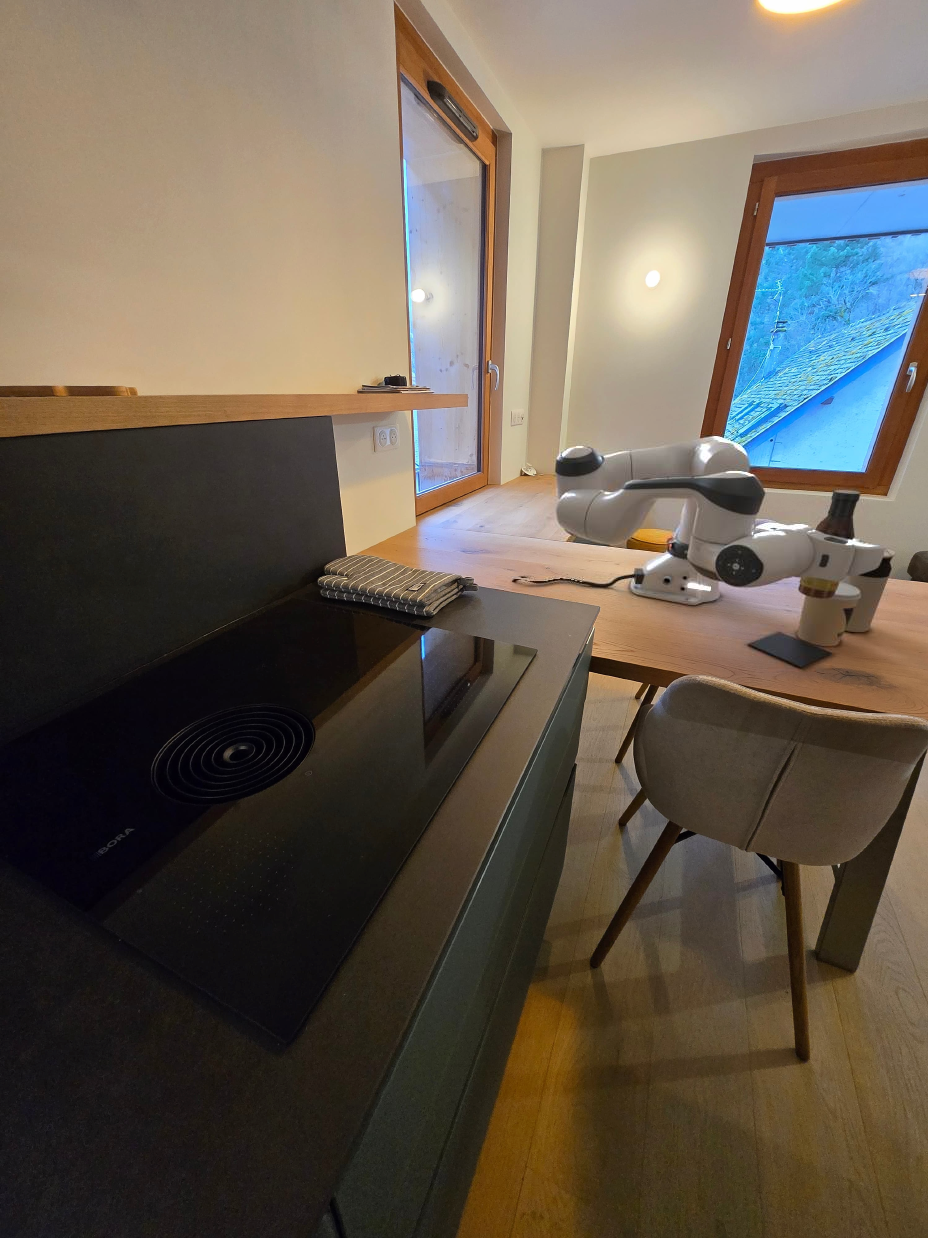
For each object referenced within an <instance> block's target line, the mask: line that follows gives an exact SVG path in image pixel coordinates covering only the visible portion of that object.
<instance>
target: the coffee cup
mask: <svg viewBox="0 0 928 1238" xmlns="http://www.w3.org/2000/svg"><path fill="white" fill-rule="evenodd" d="M860 597H861V594H860V590H859V589H858V588H856V587H854V586H852V585H849V584H846V583H842V582H839V586H838V588H837V590H836V592H835V594H834V596H833V597H831V598H822V599H820V598H815V597H809V596H806V595H804V600H803V605H802V609H801V614H800V618H799V623H798V627H797V637H798V638H799V639H800V640H801V641H803V642H806V643H808V644H811V645H814V646H820V647H835V646H837V645H839V643H840V641H841V639H842V638H843V635H844V633H845V632H846V631H845V629H846V626H847V624H848V622H849V620H850V618H851V616H852V613H853V611H854V609H855V607H856V604H857V602H858V600H859V599H860Z"/></svg>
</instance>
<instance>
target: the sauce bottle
mask: <svg viewBox="0 0 928 1238" xmlns="http://www.w3.org/2000/svg"><path fill="white" fill-rule="evenodd" d="M861 494H862V493H861V491H857V490H849V489H836V490H833V492H832V495H831V503H830V506H829V509H828V511H827V516H826V517H824V518H823V519H822V520H821V521H820V522H819V523H818V524H817V525H816V528H815V530H816V531H819V532H822V533H824V534H827V535H832V536H836V537H841V538H845V539H853V538H854V539H855V537H856V536H855V528H854V515H855V511H856V510H855V509H856V506H857V503H858V501H859V500H860V498H861ZM839 582H840V581H838V582H836V581H829V580H823V579H816V578H799V585H798V589H797V590H798V592H799V593H800V594H802V595H803V596H805V595H806V596H809V597H815V598H820V599H822V598H831V597H833V596H834V594H835V592H836V590H837V588H838V586H839Z"/></svg>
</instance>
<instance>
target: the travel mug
mask: <svg viewBox="0 0 928 1238" xmlns="http://www.w3.org/2000/svg"><path fill="white" fill-rule="evenodd" d="M883 548H884V549H885V552H884V555H883V558H882V561H881V563H880V565H879V567H878V568H876V569H874V570H872V571H869V572H866V573H863V574H860V575H854V576H846V577H845V579H844V580H843V581H840V582H842V583H846V584H849V585H852V586H854V587H856V588H858V589H859V590H860V594H861V597H860V599H859V600H858V602H857V604H856V607H855V609H854V611H853V613H852V616H851V618H850V620H849V622H848V624H847V626H846V629H845V631H844V632H849V633H864V632H867V631H869V630H870V627H871V625H872V622H873V619H874V617H875V614H876V611H877V609H878V606H879V604H880V601H881V598H882V596H883V594H884V590H885V588H886V585H887V583H888V580H889V577H890V575H891V573H892V565H891V561H892V560H893V558H894V557H895V556H896V555H897V554H896V552H895V551H893V550H891V549H888V548H885V547H883Z"/></svg>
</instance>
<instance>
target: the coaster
mask: <svg viewBox="0 0 928 1238" xmlns="http://www.w3.org/2000/svg"><path fill="white" fill-rule="evenodd" d="M747 646H748V647H751V648H752V649H755V650H757V651H760V652H761V653H764V654H767V655H769V656H771V657H774V658H775V659H778V660H781V661H783V662H785V663H787V664H790V665H792V666H794V667H797V668H798V669H803V668H806V667H807V666H810V665H811V664H812V665H813V664H814V663H816V662H818V661H820V660H823V659H825V658H827V657H829V656H832V655H833V652H831V651H829V650H826V649H824V648H821V647H819V646H817V645H815V644H812V643H809V642H806V641H804V640H802V639H798V638H796V637H794V636H792V635H791V636H790V635H788V634H786V633H783V632H781V631H778V632H775V633H773V634H770V635H768V636H765V637H763V638H759V639H757V640H755V641H753V642H749V643H748V645H747Z"/></svg>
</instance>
